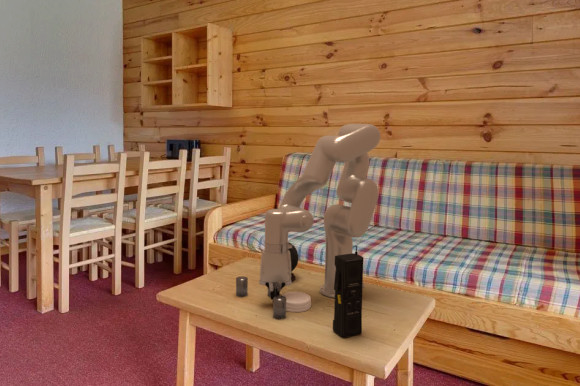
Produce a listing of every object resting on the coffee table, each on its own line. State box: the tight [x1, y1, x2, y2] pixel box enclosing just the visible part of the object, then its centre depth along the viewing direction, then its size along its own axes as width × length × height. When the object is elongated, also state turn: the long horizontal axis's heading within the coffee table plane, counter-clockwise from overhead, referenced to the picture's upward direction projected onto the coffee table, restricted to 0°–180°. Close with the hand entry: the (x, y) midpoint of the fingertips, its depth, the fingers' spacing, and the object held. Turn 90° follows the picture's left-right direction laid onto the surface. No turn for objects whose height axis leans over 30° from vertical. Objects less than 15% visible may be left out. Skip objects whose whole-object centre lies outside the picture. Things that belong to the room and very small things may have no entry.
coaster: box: [281, 291, 312, 313], centre depth 147 cm, size 10×10×4 cm
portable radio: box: [332, 245, 364, 339], centre depth 127 cm, size 8×6×25 cm
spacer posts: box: [235, 275, 287, 320], centre depth 147 cm, size 17×22×6 cm
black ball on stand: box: [288, 241, 300, 283], centre depth 173 cm, size 13×13×15 cm
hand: (275, 301), depth 148 cm, fingers closed
